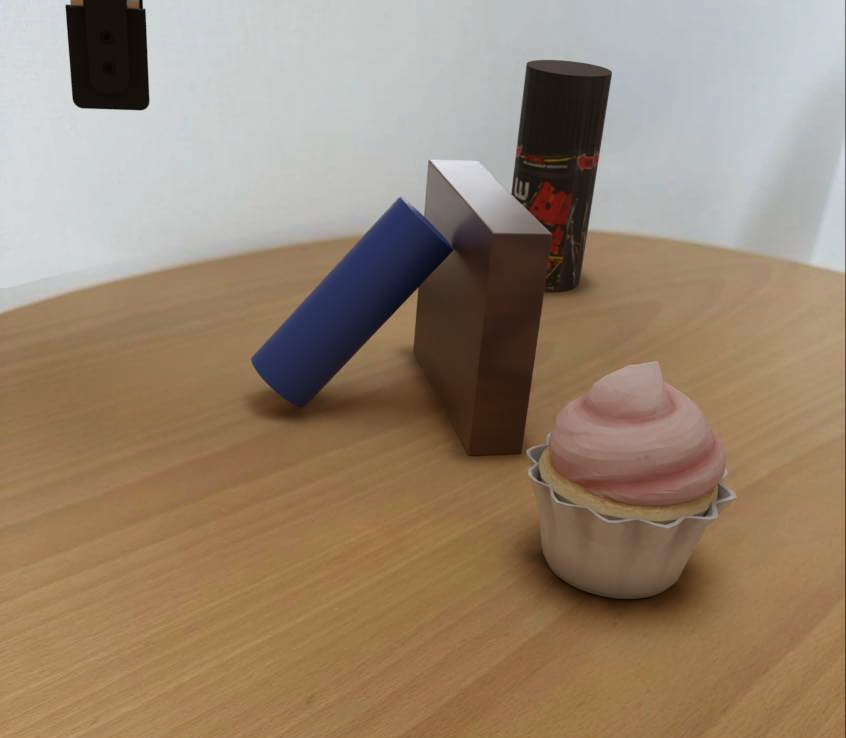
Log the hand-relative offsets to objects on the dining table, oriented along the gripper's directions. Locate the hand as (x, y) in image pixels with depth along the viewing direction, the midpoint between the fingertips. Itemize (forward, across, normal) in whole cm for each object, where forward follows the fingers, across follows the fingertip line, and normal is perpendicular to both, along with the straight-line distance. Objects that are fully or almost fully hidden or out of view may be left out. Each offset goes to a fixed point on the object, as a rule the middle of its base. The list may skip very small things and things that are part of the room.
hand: (112, 85), depth 54 cm
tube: (+11, -1, +12) cm, 16 cm away
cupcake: (+17, +17, +21) cm, 32 cm away
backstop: (+17, -1, +19) cm, 25 cm away
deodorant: (+17, -22, +30) cm, 41 cm away
